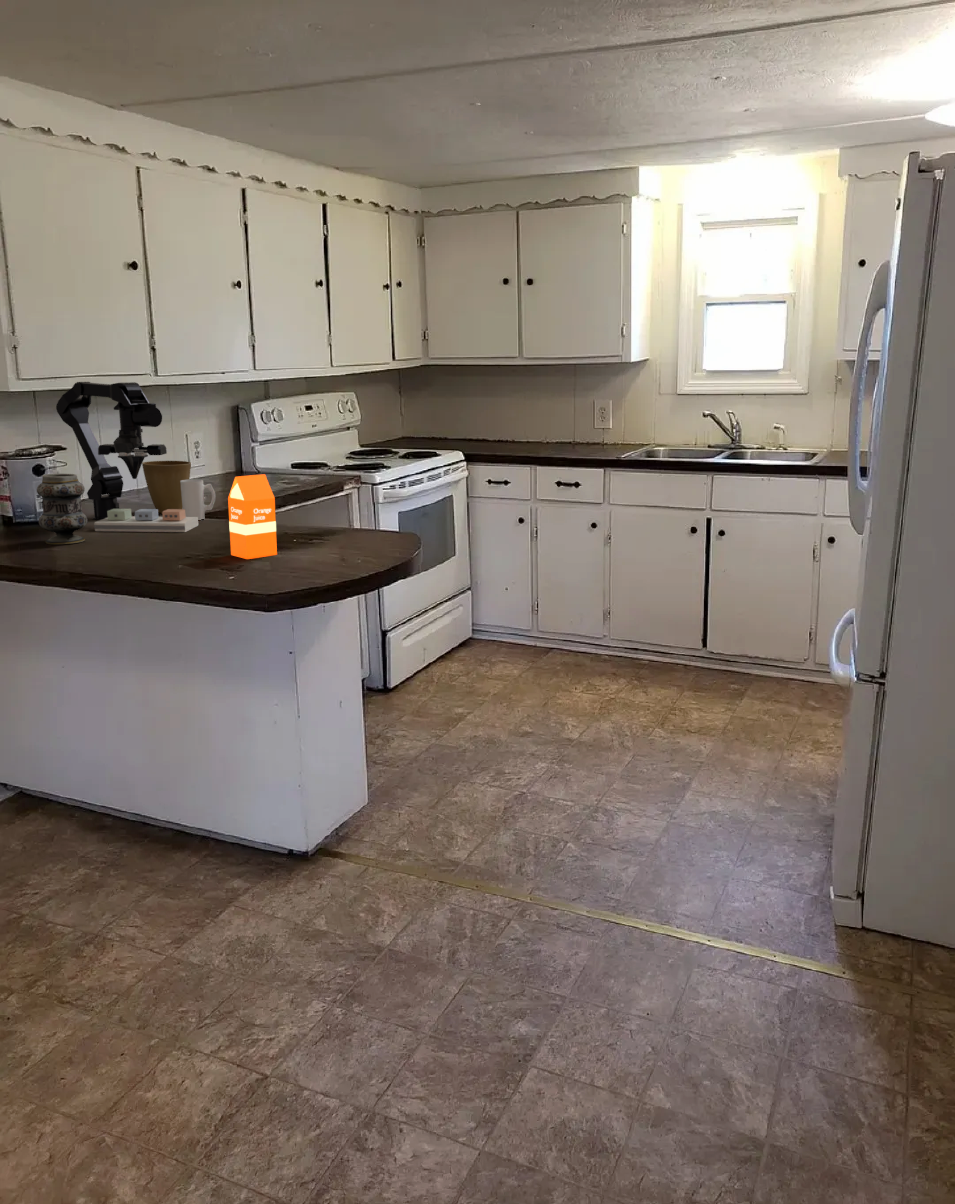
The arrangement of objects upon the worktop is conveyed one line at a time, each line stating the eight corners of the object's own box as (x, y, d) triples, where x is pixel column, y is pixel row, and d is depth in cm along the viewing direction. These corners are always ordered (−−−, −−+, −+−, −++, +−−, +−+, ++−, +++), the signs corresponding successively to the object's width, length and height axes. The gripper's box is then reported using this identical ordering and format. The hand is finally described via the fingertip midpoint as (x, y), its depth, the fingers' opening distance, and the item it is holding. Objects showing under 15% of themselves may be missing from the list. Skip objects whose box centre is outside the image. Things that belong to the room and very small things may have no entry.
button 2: (134, 520, 282) (134, 511, 281) (141, 517, 287) (141, 508, 286) (152, 520, 282) (151, 511, 281) (158, 517, 287) (157, 509, 286)
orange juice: (230, 554, 247) (226, 475, 242) (260, 550, 253) (257, 472, 248) (247, 559, 241) (243, 478, 237) (277, 554, 247) (274, 475, 243)
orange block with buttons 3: (162, 520, 282) (161, 511, 281) (168, 517, 287) (168, 509, 286) (179, 520, 281) (179, 512, 281) (185, 517, 287) (185, 509, 286)
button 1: (107, 519, 282) (106, 511, 281) (114, 517, 287) (114, 508, 287) (124, 520, 282) (123, 511, 281) (131, 517, 287) (130, 508, 286)
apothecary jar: (98, 539, 267) (93, 473, 263) (69, 546, 256) (63, 477, 252) (61, 536, 270) (54, 471, 266) (30, 544, 259) (23, 476, 255)
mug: (182, 521, 297) (180, 482, 294) (182, 518, 303) (180, 479, 300) (217, 520, 300) (214, 481, 297) (216, 517, 306) (214, 478, 303)
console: (94, 531, 279) (93, 522, 279) (111, 524, 291) (111, 515, 291) (184, 532, 279) (184, 523, 278) (198, 525, 291) (197, 516, 290)
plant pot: (156, 517, 305) (152, 465, 301) (138, 511, 316) (134, 461, 313) (201, 512, 314) (198, 462, 311) (182, 507, 326) (179, 459, 322)
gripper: (87, 427, 282) (92, 481, 285) (152, 427, 281) (156, 482, 285) (103, 425, 292) (107, 477, 296) (165, 425, 292) (169, 477, 296)
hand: (134, 478), depth 293 cm, fingers closed
